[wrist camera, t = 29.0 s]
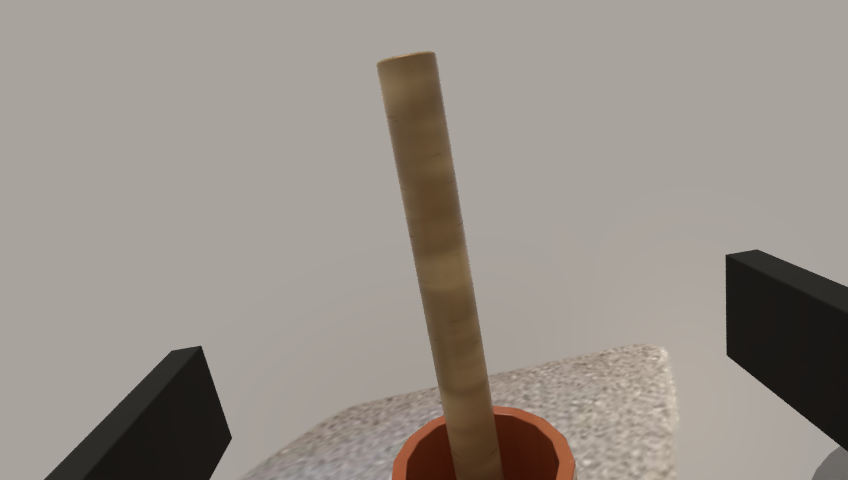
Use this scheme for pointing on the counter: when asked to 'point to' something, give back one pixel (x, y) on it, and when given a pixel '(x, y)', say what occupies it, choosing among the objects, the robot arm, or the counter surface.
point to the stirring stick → (441, 258)
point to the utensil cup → (518, 443)
